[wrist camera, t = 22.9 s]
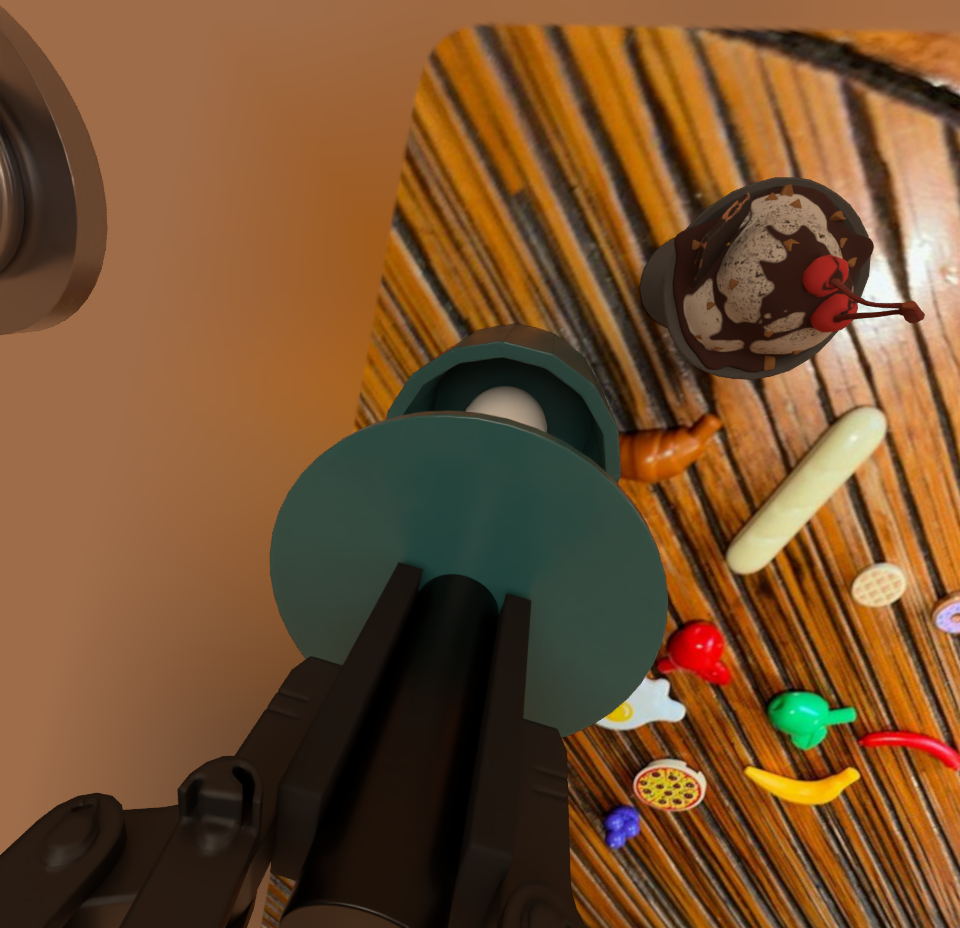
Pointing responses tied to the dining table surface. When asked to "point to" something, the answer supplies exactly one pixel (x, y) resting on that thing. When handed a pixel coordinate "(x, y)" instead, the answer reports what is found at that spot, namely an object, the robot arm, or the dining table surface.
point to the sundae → (763, 279)
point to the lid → (452, 631)
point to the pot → (521, 386)
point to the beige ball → (510, 406)
